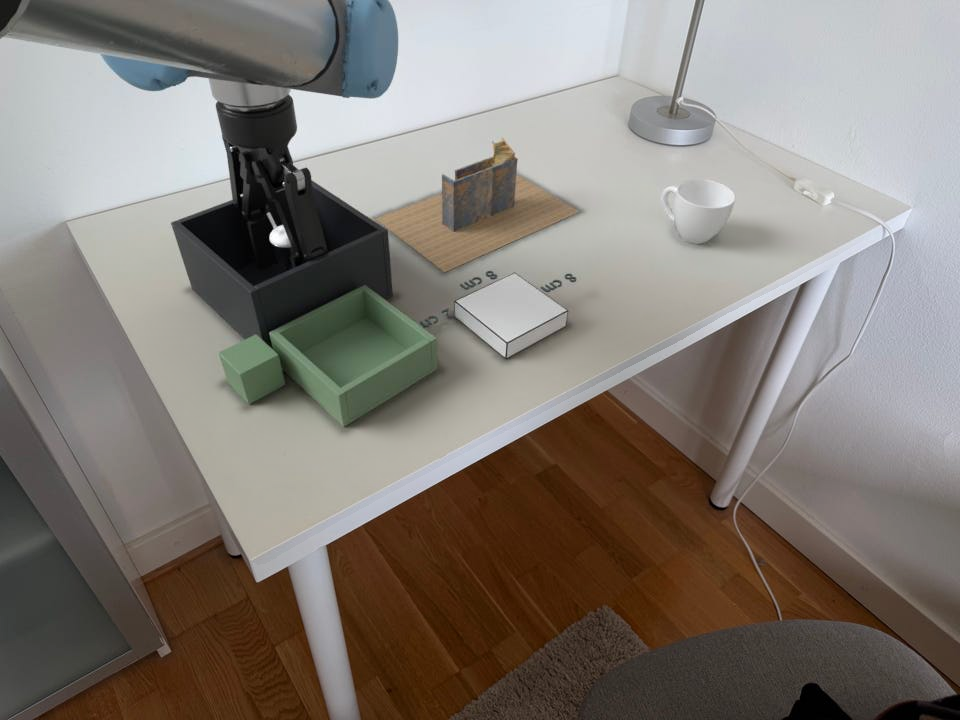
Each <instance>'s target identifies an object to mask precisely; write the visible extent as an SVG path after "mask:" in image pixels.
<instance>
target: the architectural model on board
mask: <svg viewBox="0 0 960 720" xmlns="http://www.w3.org/2000/svg"><path fill="white" fill-rule="evenodd" d="M491 144H492V150H493V155H492V156H491V157H487V158H485V159H482V160H480V161H477V162H473V163H471V164H468V165H466V166H463V167H459V168H457V169H454V179H452V178H451V177H449V176H448V175H446V174H444V173H443V174H441V193H439V194H436V195H433V196H430V197H428V198H426V199H423V200H420V201H418V202H415V203H412V204H409V205H407V206H404V207H402V208H400V209H397V210H394V211H391V212H389V213H386V214H384V215H381V216H377V217H375V218H374V219H375V220H376V222H379V223H380V225H382V226H383V227H384V228H385V229H387V230H388V231H390V232H391V233H393V234H394V235H395V236H397V237H398V238H399V239H400V240H402V241H403V242H404V243H406V244H407V245H408V246H409V247H411V248H412V249H413V250H415V251H416V252H417V253H419V254H420V255H421V256H423V257H424V258H425V259H426V260H427V261H429V262H430V263H432V264H433V265H434V266H436V268H438V269H439V270H441V271H442V272H443V273H446V272H448V271H451V270H453V269H455V268H457V267H460V266H462V265H464V264H466V263H468V262H470V261H473V260H475V259H477V258H480V257H482V256H484V255H487V254H488V253H490V252H493V251H495V250H497V249H499V248H502V247H504V246H507V245H508V244H510V243H513V242H516V241H517V240H519V239H522V238H524V237H526V236H529V235H531V234H534V233H535V232H538V231H540V230H542V229H544V228H547V227H548V226H551V225H553V224H555V223H557V222H560V221H562V220H565V219H567V218H569V217H571V216H573V215H576V214H579V213H580V210H578V209H576V208H574V207H573V206H571V205H569V204H567V203H566V202H564V201H562V200H560V199H559V198H557V197H555V196H554V195H552V194H550V193H549V192H547V191H545V190H544V189H542V188H540V187H538V186H537V185H535V184H534V183H532V182H530V181H528V180H527V179H525V178H524V177H521V176H520V175H518V174H517V172H518V157H516V152H515V151H514V149H512V147H510V146H509V144H508V143H507V141H506V140H505V139H504V137H501V140H500V141H497V142H494V140H491Z"/></svg>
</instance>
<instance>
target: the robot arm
mask: <svg viewBox="0 0 960 720" xmlns="http://www.w3.org/2000/svg"><path fill="white" fill-rule="evenodd" d="M398 28H399V27H398V21H397V17H396V12H395V10H394V8H393V5H392V4H391V2H390V0H0V40H2V38H7V39H15V40H19V41H24V42H30V43H35V44H42V45H48V46H53V47H58V48H59V47H60V48H65V49H71V50H75V51H76V50H77V51H82V52H87V53H93V54H98V55H100V56H101V58H102V60H103V61H104V62H105V64H106V65H107V66H108V68H109V69H111V71H113V73H115V74H116V75H117V76H118V77H119V78H120V79H122V80H123V82H126V83H127V84H128V85H130V86H131V87H135V88H136V89H140V90H142V91H147V92H161V91H164V90H166V89H169V88H171V87H176V86H179V85H181V84H183V83H185V82H186V80H188V78H203V79H208V83H209V87H210V91H211V95H212V97H213V98H214V99H215V101H216V103H215V110H216V115H217V119H218V124H219V127H220V132H221V139H222V142H223V145H224V148H225V152H226V158H227V167H228V174H229V175H228V176H229V182H230V191H231V200H233V204H234V207H235V208H236V209H240V208H241V209H242V215H243V217H244V218H245V219H246V220H248V222H247V225H248V229H249V233H250V238H251V242H252V247H253V251H254V256H255V260H256V264H257V268H258V269H259V270H263V269H265V268H267V267H270V266H272V265H274V264H277V263H278V261H277V259H276V256H275V253H274V250H273V248H272V245H271V242H270V239H269V237H270V233H271V232H272V231H273V227H272V224H271V222H270V220H269V218H268V216H267V215H265V216H262V214H263V213H266V212H268V211H271V209H269V207H268V205H267V204H266V201H267V198H268V199H269V200H271V201H273V202H274V204H275V206H276V209H277V211H278V214H279V216H280V219H281V221H282V224H283V226H284V229H285V231H286V234H287V236H288V239H289V241H290V244H291V246H292V249H293V251H294V255H292V256H291V257H290V258H289V259H290V260H291V262H292V266H293V268H295V267H297V266H300V265H302V264H304V263H306V262H309V261H311V260H313V259H315V258H317V257H320V256H322V255H324V254H326V253H328V250H327V246H326V242H325V239H324V235H323V231H322V227H321V223H320V219H319V215H318V211H317V208H316V204H315V200H314V196H313V192H312V182H311V180H312V174H311V171H310V170H309V168H308V167H302V168H300V169H299V168H297V166H295V165H294V159H293V158H292V154H291V152H290V149H289V144H290V142H291V141H292V139H293V137H295V135H296V133H297V131H298V123H297V116H296V111H295V103H294V99H293V97H292V96H291V95H290V93H291V90H296V91H302V92H310V93H315V94H316V93H317V94H323V95H328V96H334V97H335V96H336V97H342V98H345V99H349V98H358V99H359V98H361V99H377V98H380V97H382V96H383V95H384V94H386V92H387V91H388V90H389V88H390V86H391V84H392V82H393V80H394V76H395V73H396V70H397V69H396V68H397V64H398V55H399V29H398ZM281 186H283V187H284V189H281V190H279V191H276V192H275V191H274V189H276V188H278V187H281ZM241 195H242V197H241Z"/></svg>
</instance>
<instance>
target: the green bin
mask: <svg viewBox="0 0 960 720" xmlns="http://www.w3.org/2000/svg"><path fill="white" fill-rule="evenodd" d="M422 327H423V326H422V325H421V324H419V323H417V322H416V321H414V320H413V319H411V318H410V317H409V316H407V315H406V314H405V313H404V312H402V311H401V310H400V309H399V308H397V307H396V306H394V305H393V304H391V303H390V302H389V301H388V300H385V299H383V298H382V297H381V296H379V295H378V294H377V293H375V292H374V291H373V290H371V289H370V288H368V287H367V286H366V285H364V286H362V287H360V288H357V289H355V290H353V291H351V292H349V293H347V294H345V295H343V296H341V297H339V298H337V299H335V300H333V301H331V302H329V303H327V304H325V305H323V306H321V307H319V308H317V309H315V310H313V311H311V312H309V313H307V314H305V315H303V316H301V317H299V318H297V319H295V320H293V321H291V322H289V323H287V324H285V325H283V326H281V327H279V328H277V329H276V330H273V331H271V332H269V334H270V338H271V343H272V347H273V350H274V351H275V352H276V353H277V354H278V355H279V359H280V364H281V368H282V371H283V372H285V373H286V374H287V375H288V376H289V377H290V378H291V379H292V380H293V381H294V382H295V383H296V384H297V385H298V386H300V387H301V389H303V391H305V392H306V394H308V395H309V396H310V397H311V398H312V399H313V400H314V401H315V402H317V404H319V405H320V406H321V408H323V409H324V410H325V411H326V412H327V413H328V414H329V415H330V416H331V417H332V418H333V419H335V421H336V422H338V424H339V425H341V426H342V427H343V428H345V427H347V426H348V425H350V424H351V423H353V422H355V421H356V420H357V419H359V418H361V417H363V416H364V415H365V414H367V413H369V412H371V411H372V410H374V409H375V408H377V407H379V406H380V405H382V404H383V403H385V402H387V401H388V400H390V399H392V398H393V397H395V396H396V395H398V394H400V393H402V392H403V391H405V390H406V389H408V388H410V387H411V386H413V385H415V384H416V383H418V382H419V381H421V380H423V379H424V378H426V377H427V376H429V375H430V374H432V373H434V372H436V371H437V370H438V338H437V337H436V336H435V335H433V334H432V333H431V332H429V331H428V330H426V328H425V329H424V328H422Z"/></svg>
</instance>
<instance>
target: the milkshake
mask: <svg viewBox="0 0 960 720" xmlns="http://www.w3.org/2000/svg"><path fill="white" fill-rule="evenodd" d="M267 216H268V218H269V220H270V222H271V224H272V226H273V228H274V230H273V231H272V232H271V233H270V237H269V239H270V242H271V245H272V248H273V250H274V253H275V256H276V259H277V261H278V264H279V267H280V270H281V273H284V272H286V271H289V270H291V269H293V266H292V262H291V260H290V259H289V258H290V257H291V256H292V255H294V251H293V249H292V246H291V244H290V241H289V239H288V236H287V234H286V231H285V229H284V226H283V225H281V226H278V227H277V226H276V224H275V222H274V220H273V218H272V216H271V214H270V212H268V213H267Z"/></svg>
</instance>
